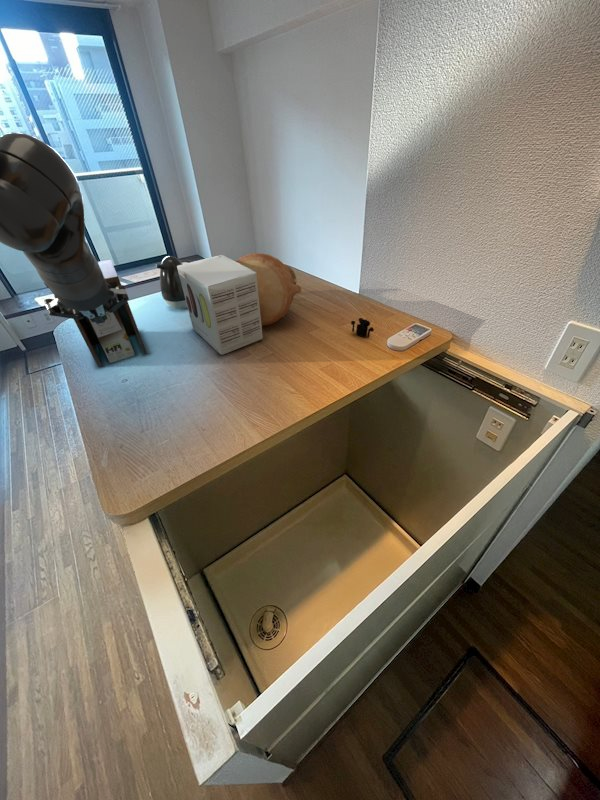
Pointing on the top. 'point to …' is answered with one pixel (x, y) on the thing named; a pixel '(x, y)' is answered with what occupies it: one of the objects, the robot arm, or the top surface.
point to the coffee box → (113, 337)
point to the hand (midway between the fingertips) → (99, 318)
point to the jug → (272, 285)
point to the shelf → (123, 312)
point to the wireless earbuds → (362, 327)
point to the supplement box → (222, 302)
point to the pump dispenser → (171, 283)
